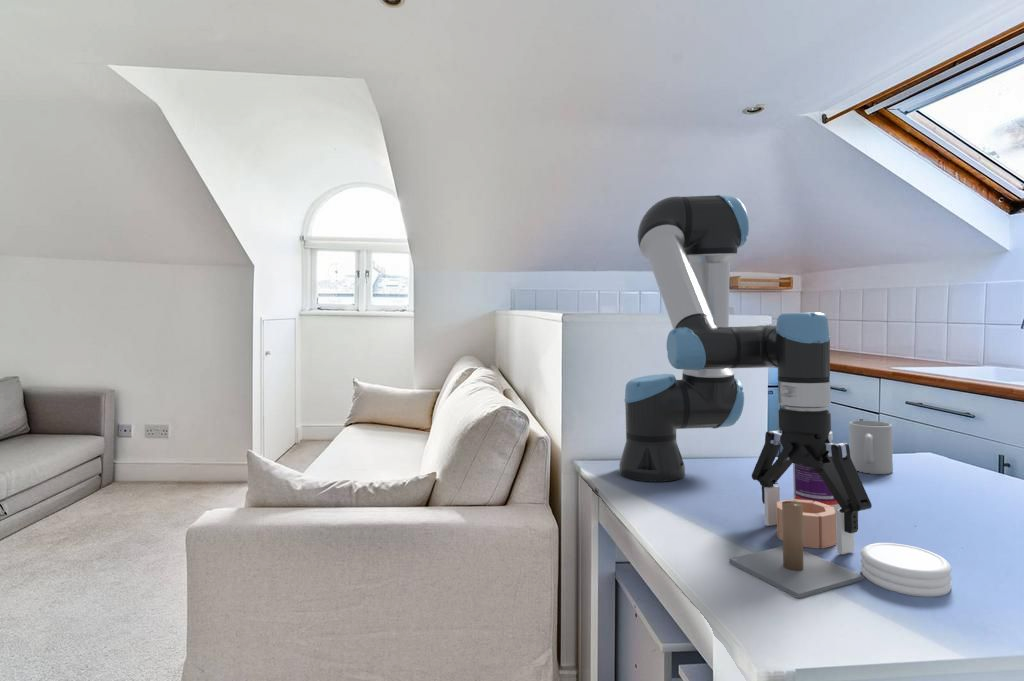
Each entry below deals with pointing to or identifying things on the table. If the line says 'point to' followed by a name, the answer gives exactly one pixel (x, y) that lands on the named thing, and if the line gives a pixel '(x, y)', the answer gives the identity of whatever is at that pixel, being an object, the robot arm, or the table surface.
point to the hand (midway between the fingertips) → (806, 537)
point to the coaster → (906, 569)
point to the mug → (871, 446)
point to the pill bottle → (812, 484)
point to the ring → (813, 523)
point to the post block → (795, 561)
